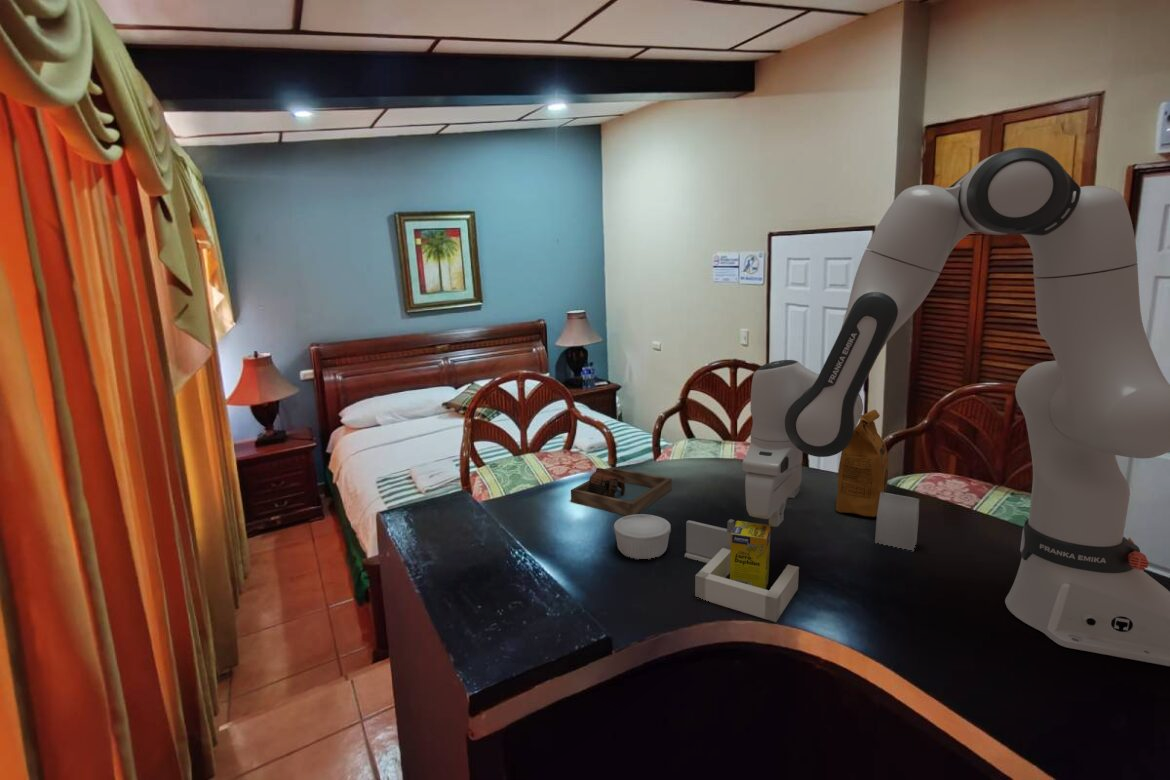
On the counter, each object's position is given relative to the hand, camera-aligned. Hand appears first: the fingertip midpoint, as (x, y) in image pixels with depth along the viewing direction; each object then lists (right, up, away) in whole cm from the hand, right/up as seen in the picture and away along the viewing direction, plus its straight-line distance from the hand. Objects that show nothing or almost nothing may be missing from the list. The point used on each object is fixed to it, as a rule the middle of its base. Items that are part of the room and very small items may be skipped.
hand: (776, 523), depth 110 cm
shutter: (-12, -7, +3) cm, 14 cm away
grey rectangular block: (+26, -6, +8) cm, 28 cm away
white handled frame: (-10, -9, -5) cm, 14 cm away
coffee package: (+27, -3, +25) cm, 37 cm away
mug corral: (-26, -1, +37) cm, 45 cm away
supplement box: (-7, -10, -6) cm, 14 cm away
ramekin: (-24, -7, +9) cm, 26 cm away
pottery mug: (-30, -2, +36) cm, 46 cm away
